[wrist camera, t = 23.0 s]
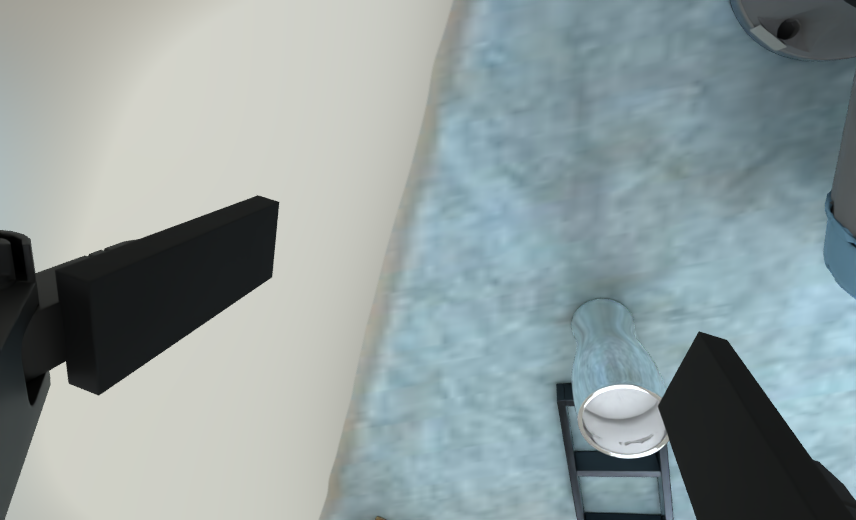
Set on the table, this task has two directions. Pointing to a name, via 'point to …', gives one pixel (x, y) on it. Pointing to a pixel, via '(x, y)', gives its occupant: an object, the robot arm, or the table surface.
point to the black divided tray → (611, 467)
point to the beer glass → (615, 383)
